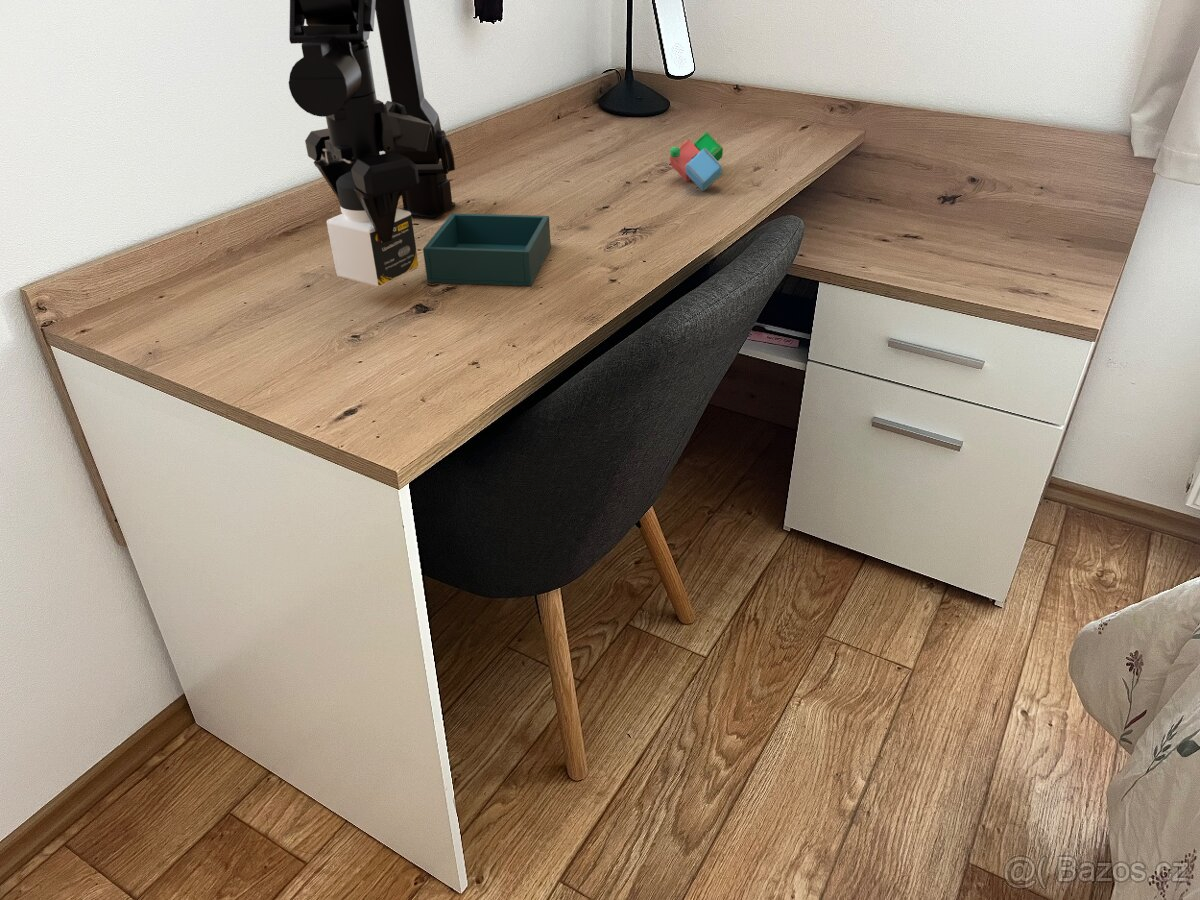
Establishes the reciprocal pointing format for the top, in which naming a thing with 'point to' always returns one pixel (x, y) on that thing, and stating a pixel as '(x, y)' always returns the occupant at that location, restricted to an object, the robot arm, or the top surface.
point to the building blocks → (698, 160)
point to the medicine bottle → (369, 241)
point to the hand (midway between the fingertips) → (371, 230)
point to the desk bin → (488, 249)
